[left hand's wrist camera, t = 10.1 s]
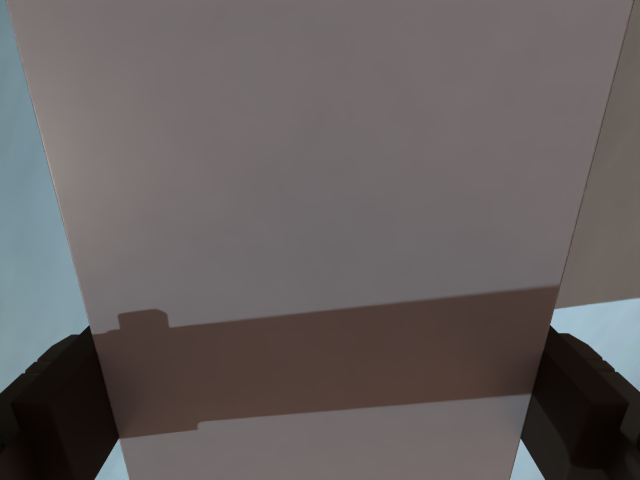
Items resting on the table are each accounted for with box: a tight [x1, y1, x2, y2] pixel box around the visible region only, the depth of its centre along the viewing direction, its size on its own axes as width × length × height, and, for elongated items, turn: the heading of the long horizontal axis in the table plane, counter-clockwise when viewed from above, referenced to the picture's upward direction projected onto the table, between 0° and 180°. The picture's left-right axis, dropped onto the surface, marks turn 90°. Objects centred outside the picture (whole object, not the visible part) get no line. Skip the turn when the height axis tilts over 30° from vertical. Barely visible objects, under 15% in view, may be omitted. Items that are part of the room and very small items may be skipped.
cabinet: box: [6, 0, 634, 480], centre depth 12 cm, size 16×10×10 cm, turn 0°
